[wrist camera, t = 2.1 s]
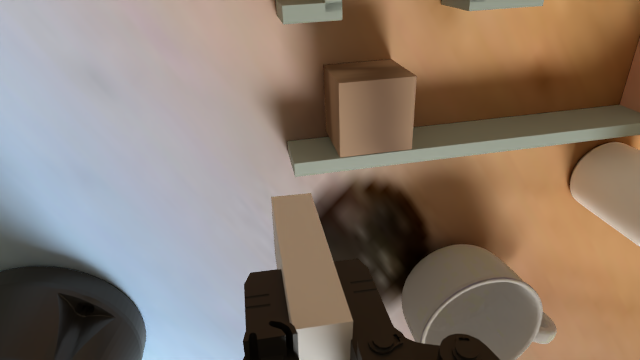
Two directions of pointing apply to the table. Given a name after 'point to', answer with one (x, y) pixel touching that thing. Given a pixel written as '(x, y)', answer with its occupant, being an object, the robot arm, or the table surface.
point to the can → (610, 186)
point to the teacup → (474, 302)
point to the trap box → (472, 136)
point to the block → (369, 106)
